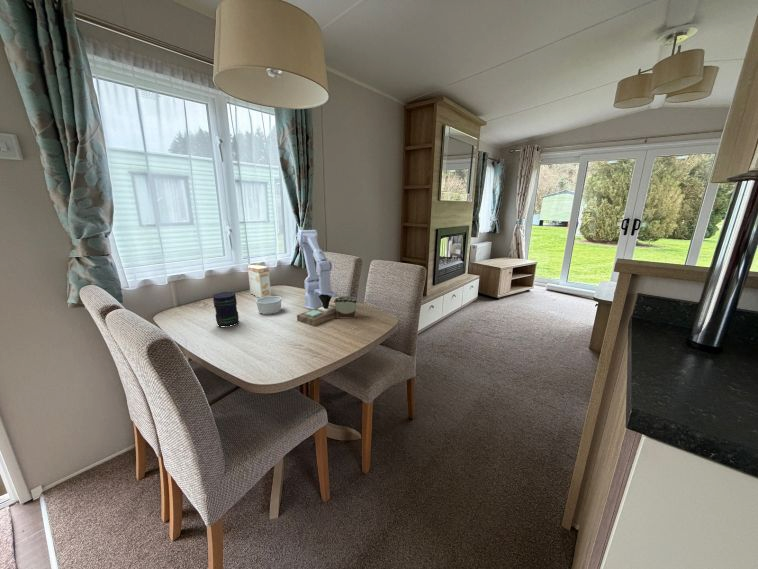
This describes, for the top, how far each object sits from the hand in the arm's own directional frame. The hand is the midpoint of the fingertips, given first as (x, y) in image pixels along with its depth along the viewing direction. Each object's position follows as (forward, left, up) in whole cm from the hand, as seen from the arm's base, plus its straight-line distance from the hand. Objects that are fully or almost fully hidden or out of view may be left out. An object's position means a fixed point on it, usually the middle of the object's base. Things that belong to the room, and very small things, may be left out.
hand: (326, 308), depth 155 cm
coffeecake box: (-61, +2, -4) cm, 61 cm away
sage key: (0, -9, -2) cm, 9 cm away
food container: (+10, +6, -4) cm, 12 cm away
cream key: (0, 0, -2) cm, 2 cm away
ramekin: (-30, -13, -4) cm, 33 cm away
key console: (0, -4, -4) cm, 6 cm away
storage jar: (-31, -36, -4) cm, 48 cm away
